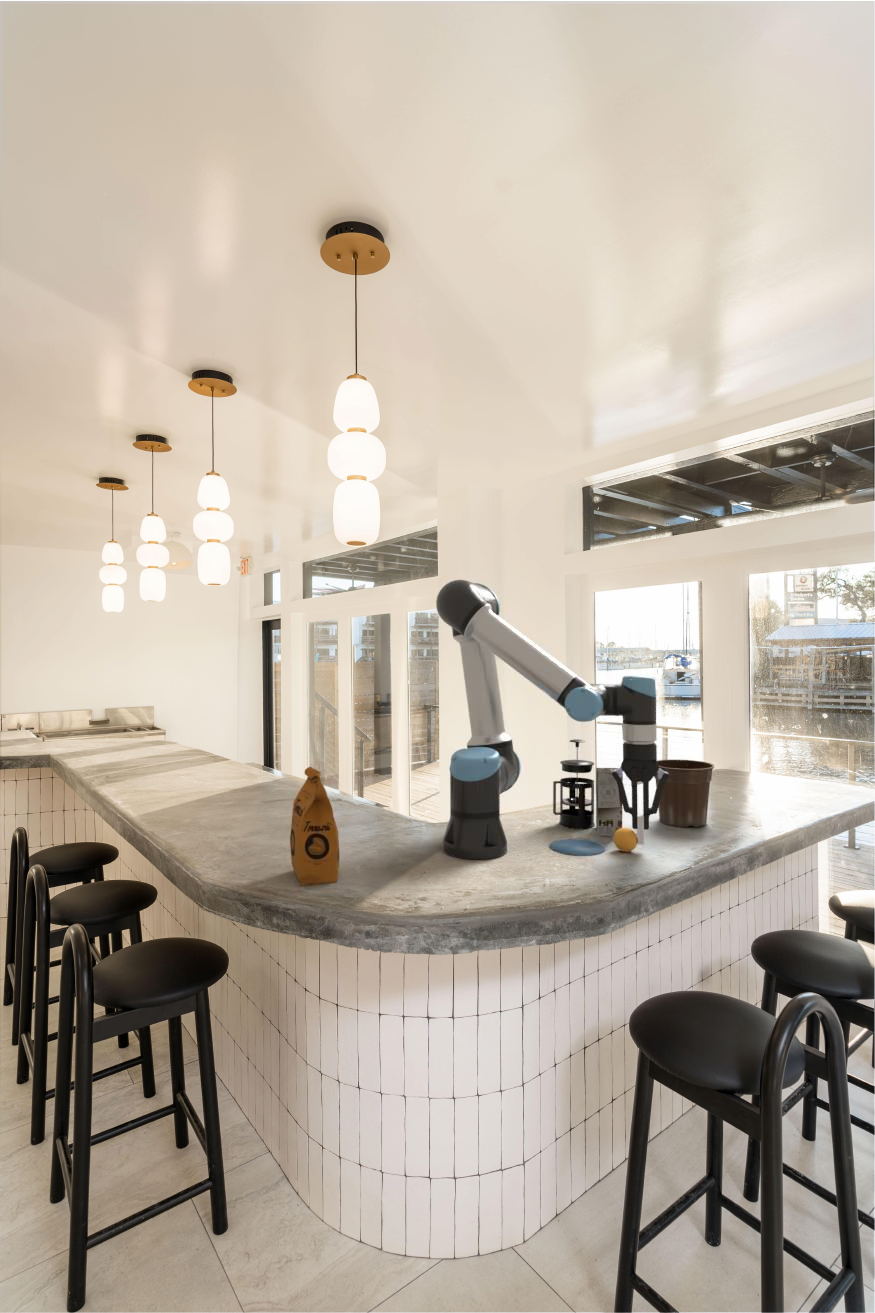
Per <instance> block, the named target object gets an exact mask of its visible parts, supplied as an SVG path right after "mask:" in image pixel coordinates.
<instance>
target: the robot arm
mask: <svg viewBox="0 0 875 1313" xmlns="http://www.w3.org/2000/svg"><path fill="white" fill-rule="evenodd" d="M435 602H436V606H435V607H436V611H437V613H438V617H439V618H440V619H441V620H442V621H443V622H444V623H445V624H447V625H448V626H449V627H451V630H452V638H453V640H455V641H456V642H457V643H458V644H459V647H460V654H461V662H462V670H463V671H462V672H463V677H464V678H463V679H464V686H465V695H466V702H467V708H468V717H469V724H470V734H471V737H470V739H469V740H468V741H467V743H466V748H461V749H459V750H458V749H457V750H456V751H455V752H453V753H452V754H451V757H450V764H449V765H450V766H449V773H450V774H449V779H450V780H449V783H450V784H449V788H450V790H449V791H450V792H449V794H450V796H449V797H450V798H449V799H450V800H449V801H450V803H449V804H450V809H449V810H450V812H449V813H450V815H449V820H448V823H447V826H446V830H445V833H444V836H443V839H442V851H443V853H445V854H447V855H448V856H452V857H455V858H459V859H467V860H487V859H488V860H489V859H493V858H498V857H501V856H503V855H505V854H506V853H507V852H508V841H507V837H506V834H505V830H504V827H503V824H502V820H501V817H500V816H501V815H500V808H501V806H500V803H501V801H500V800H501V796H500V795H501V794H502V793H504V792H507V791H509V790H510V789H512V788H513V786H514V785H515V784H516V782H517V781H518V779H519V777H520V775H521V761H520V758H519V756H518V753H517V752H516V751H515V750H514V744H513V743H514V742H513V738H512V737H511V736H510V735H509V734H508V733H506V729H505V721H504V713H503V712H504V711H503V705H502V698H501V691H500V685H499V683H500V682H499V676H498V667H497V659H496V657H497V658H499V659H500V660H502V662H504V663H505V664H507V665H508V666H509V667H511V668H512V669H514V671H516V672H517V673H518V674H520V675H521V676H523V677H524V678H525V679H527V681H528V682H530V683H532V684H533V685H534V686H535V687H536V688H538V689H539V690H541V691H542V692H543V693H544V694H546V695H547V696H548V697H550V699H552V700H554V701H555V702H556V703H557V704H558V705H559V706H561V707H563V708H564V710H565V712H566V713H567V714H568V717H569V718H571V719H572V720H574V721H576V722H582V723H585V722H592V721H594V720H595V719H597V718H599V716H600V717H601V716H609V717H619V716H620V717H621V716H622V740H624V742H623V743H622V762H621V764H620V767H617V768H618V769H617V770H613V771H612V776H613V777H614V779H615V780H616V781H617V785H618V789H619V793H620V796H621V800H622V809H623V811H624V813H627V814H629V815H631V826H632V830H637V832H636V835H637V838H638V843H637V845H642V846H644V845H645V830H647V831H648V830H649V829H650V816H651V815H656V814H657V813H658V811H659V808H658V806H659V802H660V798H661V794H662V790H663V786H664V783H665V782H666V780H667V779H668V777H669V775H668V773H667V772H664V771H663V770H661V769H660V768H659V765H658V763H657V760H658V759H657V756H658V754H657V753H658V752H657V751H658V750H657V749H658V748H657V747H658V746H657V743H655V742H656V741H657V690H656V687H657V686H656V679H655V678H654V677H653V676H651V675H624V676H622V680H621V683H617V684H612V683H611V684H609V683H607V684H606V683H588V682H586V680H584V679H583V678H581V677H579V675H577V674H576V673H574V672H573V671H572V670H571V669H569V668H568V667H566V666H565V665H564V664H563V663H561V662H559V661H558V659H556V658H555V657H553V656H552V655H551V654H549V653H548V652H546V651H545V650H544V649H542V648H541V647H540V646H539V645H538V644H536V643H535V642H533V641H532V640H531V639H529V638H528V637H526V636H525V635H523V634H522V633H521V632H520V631H518V630H517V628H516V629H515V627H513V626H512V625H510V624H509V623H508V622H506V621H505V620H504V619H502V618H501V617H500V616H499V615H500V610H501V609H500V608H501V607H500V601H499V598H498V597H497V595H496V593H495V592H494V591H493V590H492V589H490V588H489V587H488V586H486V585H484V584H481V583H479V582H472V581H470V580H469V581H468V580H465V579H454V580H451V581H449V582H448V583H446V584H445V585H444V586H442V587H441V589H440V590H439V592H438V594H437V596H436V601H435ZM622 773H624V774H625V775H626V776H627V779H629V781H631V806H630V805H629V801H628V796H627V794H626V793H627V792H626V790H625V784H624V782H623V781H622V777H623V778H624V774H622ZM656 773H658V776H657V777H658V779H659V780H658V784H657V788H655V791H654V795H653V796H654V797H653V800H652V803H651V807H650V798H649V796H650V792H649V791H650V786H649V784H650V783H649V782H651V780H653V778H654V775H655V774H656ZM640 782H641V783H642V805H643V806H642V808H643V809H642V811H643V812H642V813H638V812H639V811H638V783H640Z"/></svg>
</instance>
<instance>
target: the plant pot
mask: <svg viewBox="0 0 875 1313" xmlns="http://www.w3.org/2000/svg"><path fill="white" fill-rule="evenodd" d="M657 763H658V765H659V768H660V769H661V770H663V771H664V772H667V773H668V775H669V777H668V779H667V780H666V782H665V783H664V786H663V790H662V794H661V798H660V802H659V806H658V817H659V818H658V820H659V821H660V822H662V823H663V824H665V825H668V826H673V827H678V828H688V827H690V826H692V827H693V828H699V827H703V826H705V825H706V824H707V819H708V808H709V807H708V806H709V795H710V786H711V784H710V783H711V782H712V775H713V769H714V768H715V765H714V764H713V763H710V762H707V761H702V760H691V759H657ZM657 776H658V773H656V774H655V775H654V777H653V778H654V779H655V787H656V788H657V784H658V780H659V779H658V777H657ZM656 788H655V789H656Z"/></svg>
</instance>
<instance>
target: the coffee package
mask: <svg viewBox="0 0 875 1313" xmlns="http://www.w3.org/2000/svg"><path fill="white" fill-rule="evenodd" d="M304 769H305V770H304V775H305V776H306V777H307V778H306V780H305V782H304V784H303V785H302V786H301V788H300V790H299V792H297V795H296V797H295V798H294V800H293V804H292V806H293V807H292V813H291V814H292V815H291V823H290V824H291V826H290V835H289V844H290V845H289V846H290V847H289V848H290V860H291V865H292V868H293V871H294V874H295V875H296V877H297V879H298V880H299V882H300V884H301V885H302V886H308V885H312V886H313V885H314V886H315V885H322V884H332V883H333V884H334V883H337V882H338V878H339V868H340V840H339V830H338V826H337V823H336V821H335V817H334V811H333V806H332V804H331V800H330V798H329V796H328V793H327V791H326V788H325V785H324V784H323V783H322V780H321V775H322V774H321V772H322V771H320V770H317V769H316V768H314V767H312V766H308V767H306V768H304Z"/></svg>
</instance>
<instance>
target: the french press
mask: <svg viewBox="0 0 875 1313" xmlns="http://www.w3.org/2000/svg"><path fill="white" fill-rule="evenodd" d="M569 742H570V743H575V748H576V759H567V760H565V759H564V760H562V761H560V764H561V771H562V772H566V773H572V774H576V775H575V776H576V777H574V776H572V777H569V776H568V777H563V778H562V777H561V779H560V780H553V782H552V784H553V785H552V788H553V789H552V813H553V815H554V816H559V822H558V824H559V826H561V827H563V828H566V827H567V828H566V829H571V828H573V829H572V830H589V829H593V828H594V827H596V825H595V824H596V822H595V780H593V779H590V778H585V777H579V774H588V773H591V772H592V770H593V766H594V765H595V763H594V762H593V761H590V760H586V759H585V760H584V759H579V747H580V743H586V741H585V740H583V739H575V738H574V739H570V740H569ZM557 784H559V788H560V789H559V791H560V792H559V798H560V799H559V801H560V802H559V803H560V805H559V807H560V808H559V812H558V811H557V808H556V807H557ZM563 787H564V788H567V789H569V791H568V794H569V796H568V797H566V798H564V797H563V796H564V793H563V792H564V791H563V790H564V788H563ZM586 789H591V791H590V795H591V796H590V798H591V799H589V798H586ZM563 805H565V806H568V807H569V808H564V806H563ZM576 807H577V808H576ZM586 807H590V809H586ZM556 811H557V812H556ZM592 827H593V828H592Z"/></svg>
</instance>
